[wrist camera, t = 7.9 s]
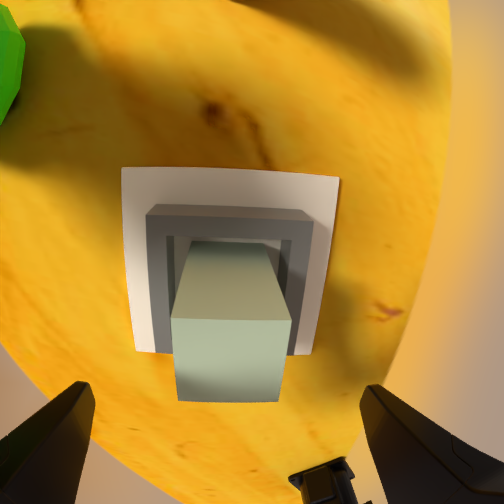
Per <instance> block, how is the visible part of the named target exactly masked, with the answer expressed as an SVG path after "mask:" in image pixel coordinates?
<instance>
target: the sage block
mask: <svg viewBox="0 0 504 504" xmlns="http://www.w3.org/2000/svg"><path fill="white" fill-rule="evenodd" d="M170 319H171V333H172V345H173V356H174V367H175V377H176V386H177V395H178V401H193V402H278V400H279V394H280V389H281V383H282V377H283V372H284V366H285V360H286V354H287V348H288V342H289V335H290V329H291V323H292V319H291V317H290V314H289V311H288V308H287V306H286V303H285V300H284V298H283V295H282V292H281V289H280V287H279V284H278V281H277V279H276V276H275V273H274V270H273V268H272V265H271V262H270V260H269V257H268V254H267V252H266V249H265V246H264V244H263V243H244V242H216V241H192V242H191V245H190V248H189V252H188V255H187V259H186V262H185V266H184V269H183V273H182V276H181V280H180V284H179V287H178V291H177V295H176V298H175V302H174V306H173V310H172V314H171V317H170Z"/></svg>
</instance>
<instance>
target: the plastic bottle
mask: <svg viewBox="0 0 504 504" xmlns="http://www.w3.org/2000/svg"><path fill="white" fill-rule="evenodd" d="M25 48H26V42H25V40H24V39H23V37H22V35H21V33H20V31H19V29H18V27H17V25H16V23H15V21H14V19H13V17H12V15H11V13H10V11H9V9H8V7H6V6H4V5H2V4H0V126H1V124H2V122H3V120H4V118H5V116H6V114H7V112H8V110H9V108H10V106H11V104H12V102H13V100H14V98H15V96H16V95H17V93H18V91H19V89H20V85H21V76H22V68H23V61H24V54H25Z"/></svg>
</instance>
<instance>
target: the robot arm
mask: <svg viewBox="0 0 504 504" xmlns="http://www.w3.org/2000/svg"><path fill="white" fill-rule="evenodd" d="M359 406H360V411H361V416H362V420H363V424H364V429H365V433H366V438H367V442H368V445H369V448H370V451H371V454H372V457H373V460H374V463H375V465H376V469H377V472H378V475H379V477H380V480H381V483H382V486H383V489H384V492H385V495H386V498H387V501H388V504H504V463H503V462H501V461H499V460H497V459H495V458H493V457H491V456H489V455H487V454H485V453H483V452H481V451H479V450H477V449H475V448H474V447H472V446H470V445H468V444H467V443H465V442H463V441H462V440H460V439H459V438H457V437H456V436H454V435H451V433H449V432H448V431H446V430H445V429H443V428H442V427H440V426H439V425H437V424H436V423H435V422H433V421H431V420H430V419H428V418H427V417H426V416H424V415H423V414H421V413H420V412H418V411H417V410H415V409H414V408H412V407H411V406H409V405H408V404H407V403H405V402H404V401H402V400H401V399H399V398H398V397H396V396H395V395H394V394H392V393H391V392H389V391H388V390H386V389H385V388H384V387H382V386H381V385H379V384H373V385H368V386H366V388H365V390H364V393H363V395H362V398H361V400H360V405H359ZM94 410H95V398H94V395H93V392H92V390H91V387H90V384H89V383H87V382H83V381H76V382H75V383H73V384H72V385H71V386H69V387H68V388H67V389H66V390H64V391H63V392H62V393H60V394H59V395H58V396H56V397H55V398H54V399H53V400H51V401H50V402H49V403H47V404H46V405H45V406H44V407H42V408H41V409H40V410H39V411H37V412H36V413H35V414H33V415H32V416H31V417H29V418H28V419H27V420H26V421H24V422H23V423H22V424H20V425H19V426H18V427H17V428H15V429H14V430H13V431H11V432H10V433H9V434H8V436H7V435H6V436H5V437H4V438H2V439H1V440H0V504H75V500H76V495H77V490H78V486H79V482H80V478H81V473H82V470H83V465H84V462H85V458H86V454H87V450H88V446H89V441H90V435H91V428H92V422H93V416H94ZM353 478H355V475H354V473H353V472H352V470H351V469H350V467H349V466H348V464H347V462H346V461H345V459H344V458H338V459H336V460H333V461H331V462H328V463H326V464H323V465H320V466H318V467H315V468H312V469H310V470H307V471H304V472H301V473H298V474H295V475H292V476H289V477H288V480H289V482H290V483H291V484H292V485H294V486H295V487H296V488H297V489H298V490H300V491H301V495H302V500H303V504H358V502H357V498H356V495H355V493H354V490H353V487H352V484H351V481H350V480H351V479H353ZM364 504H372V501H371V500H370V501H368V502H366V503H364Z"/></svg>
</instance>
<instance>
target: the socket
mask: <svg viewBox="0 0 504 504" xmlns="http://www.w3.org/2000/svg"><path fill="white" fill-rule="evenodd" d="M121 186H122V221H123V239H124V254H125V266H126V277H127V287H128V296H129V304H130V312H131V320H132V327H133V334H134V340H135V346H136V351H144V352H156V353H168V354H173V345H172V333H171V319H170V317H171V314H172V310H173V306H174V302H175V298H176V295H177V291H178V287H179V284H180V280H181V276H182V273H183V269H184V266H185V262H186V259H187V255H188V252H189V248H190V245H191V242H192V241H216V242H244V243H263V244H264V246H265V249H266V252H267V254H268V257H269V260H270V262H271V265H272V268H273V270H274V273H275V276H276V279H277V281H278V284H279V287H280V289H281V292H282V295H283V298H284V300H285V303H286V306H287V308H288V311H289V314H290V317H291V319H292V323H291V329H290V335H289V342H288V348H287V354H286V356H287V355H308V354H311V351H312V346H313V341H314V336H315V331H316V326H317V321H318V316H319V311H320V306H321V300H322V295H323V289H324V284H325V278H326V272H327V266H328V259H329V253H330V247H331V240H332V233H333V226H334V219H335V211H336V204H337V196H338V187H339V177H336V176H326V175H316V174H306V173H294V172H282V171H268V170H252V169H233V168H207V167H122V168H121Z"/></svg>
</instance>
